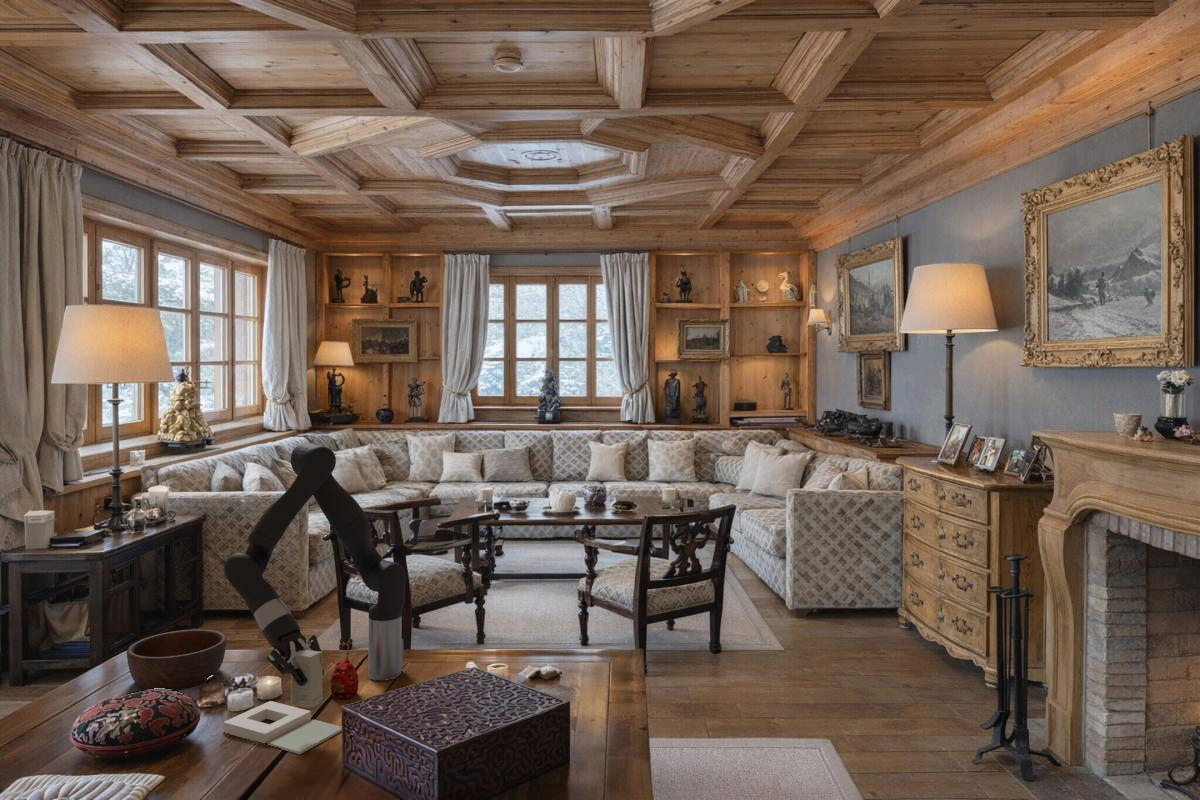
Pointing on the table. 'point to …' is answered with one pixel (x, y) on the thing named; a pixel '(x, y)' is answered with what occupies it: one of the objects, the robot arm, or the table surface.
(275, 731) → the holder block
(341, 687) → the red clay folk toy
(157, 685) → the wooden bowl
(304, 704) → the skincare box
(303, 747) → the green tile
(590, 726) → the table surface
